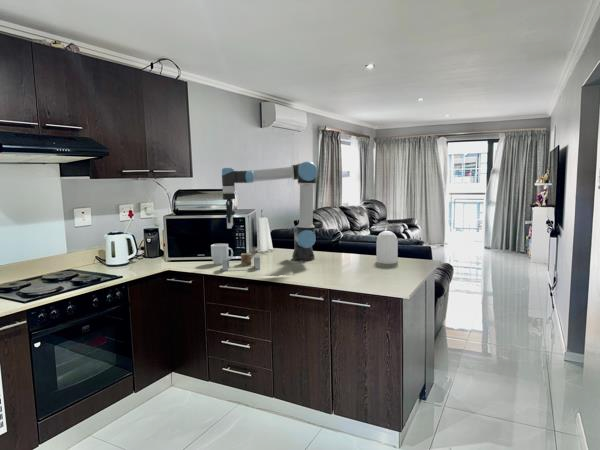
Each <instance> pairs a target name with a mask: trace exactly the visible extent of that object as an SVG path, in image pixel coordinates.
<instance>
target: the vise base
mask: <svg viewBox="0 0 600 450" xmlns="http://www.w3.org/2000/svg"><path fill="white" fill-rule="evenodd" d="M244 267H245V268H246V267H248V268H249V267H252V265H240V266H237V268H244ZM260 270H261V268H260V269H255V268H253V269H252V271H260ZM238 271H239V272H240V271H242V272H244V271H246V269H235V270H232V269H231V270H230V272H238ZM218 272H219V273H221V274H222V273H224V271H223V267H220V269H219V271H218Z"/></svg>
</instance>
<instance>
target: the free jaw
mask: <svg viewBox="0 0 600 450" xmlns="http://www.w3.org/2000/svg"><path fill="white" fill-rule="evenodd" d="M253 263H254V264H253V267H254V269H260V270H261V255H260V254H256V255H255V254H254V256H253Z"/></svg>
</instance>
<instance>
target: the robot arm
mask: <svg viewBox="0 0 600 450" xmlns="http://www.w3.org/2000/svg"><path fill="white" fill-rule="evenodd" d="M317 176H318V168H317V166H316V164H315V163H313V162H311V161H303V162H301V163H297V164H291V166H286V167H285V166H284V167H274V168H262V169H252V170H235V168H234V167H223V168H222V169H221V184H222V185H221V186H222V187H221V190H222V199H223V200H224V201H226V202H225V206H226V207H225V208H226V216H225V219H226V229H232V228H233V226H234V219H233V218H234V217H233V216H234V213H233V200H235V199H236V185H235V184H252V183H256V182H266V181H276V180H289V179H291V180H293V181H295V180H297V184H298V185H299V209H298V210H299V211H298V213H299V214H298V215H299V218H298V219H299V220H298V221H299V222H298V224H297V225H294V227H293V228H294V229H293V232H294V233H293V234H294V237H293V238H294V249H293V251H292V255H291V258H292V260H293V261H295V262H296V261H297V262H308V261H309V262H310V261H314V260H315V259H316V257H315V253H314V250H313V246H314V245H315V243H316V239H317V238H316V226H315V225H314V224H313V221H314V220H313V219H314V188H315V187H314V186H315V185H316V184H317Z"/></svg>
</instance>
